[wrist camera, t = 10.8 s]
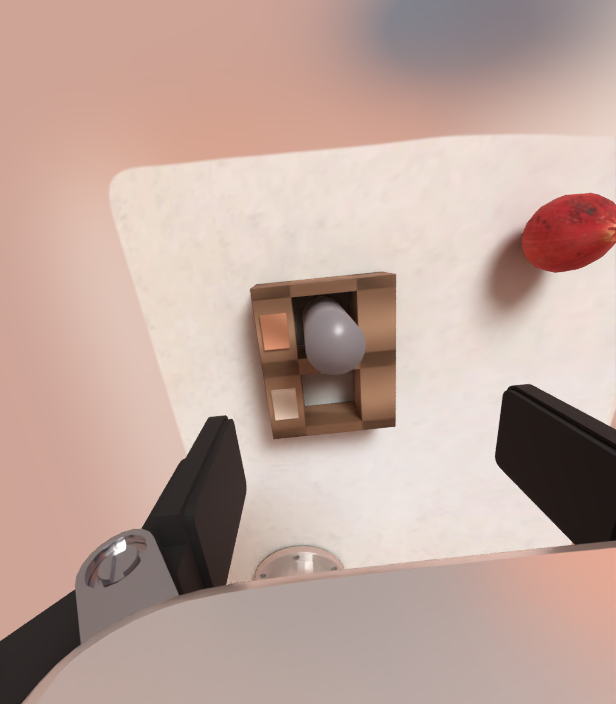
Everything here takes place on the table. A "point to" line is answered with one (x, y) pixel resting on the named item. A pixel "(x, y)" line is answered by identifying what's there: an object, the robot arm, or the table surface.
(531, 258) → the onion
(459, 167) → the table surface
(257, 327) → the socket block
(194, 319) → the table surface
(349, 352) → the plug
